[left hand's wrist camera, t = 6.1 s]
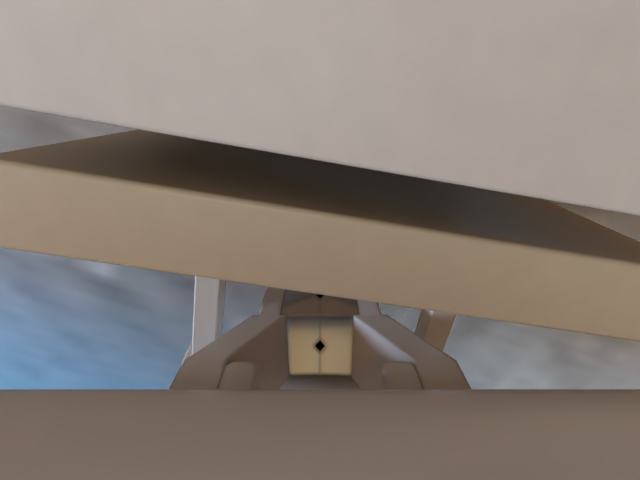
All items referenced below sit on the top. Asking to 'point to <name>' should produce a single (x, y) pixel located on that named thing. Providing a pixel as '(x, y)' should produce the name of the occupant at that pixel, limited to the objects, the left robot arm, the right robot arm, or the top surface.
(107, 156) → the drawer
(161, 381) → the top surface
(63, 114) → the cabinet
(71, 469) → the left robot arm
